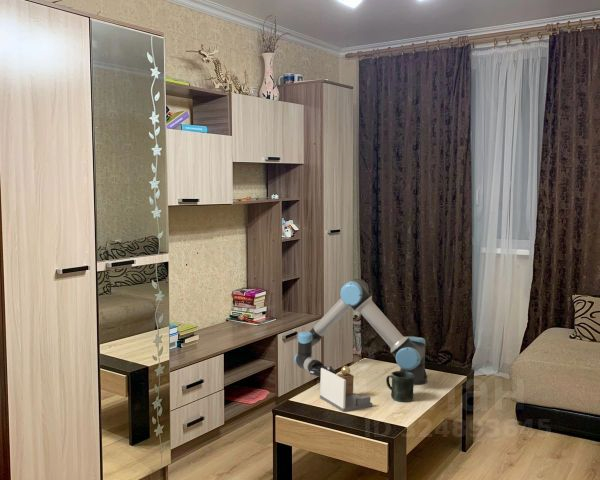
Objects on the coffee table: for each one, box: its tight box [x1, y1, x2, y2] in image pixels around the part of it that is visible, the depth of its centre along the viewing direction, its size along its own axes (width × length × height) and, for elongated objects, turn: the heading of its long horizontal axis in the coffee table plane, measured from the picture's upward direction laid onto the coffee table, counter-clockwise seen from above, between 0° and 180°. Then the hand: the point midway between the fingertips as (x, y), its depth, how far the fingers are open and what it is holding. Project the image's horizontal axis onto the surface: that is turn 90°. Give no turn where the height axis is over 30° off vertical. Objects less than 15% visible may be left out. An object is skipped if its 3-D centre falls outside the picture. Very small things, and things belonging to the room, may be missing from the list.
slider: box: [336, 365, 355, 395], centre depth 293 cm, size 5×6×13 cm
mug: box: [385, 370, 415, 403], centre depth 294 cm, size 11×15×12 cm
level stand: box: [319, 368, 373, 413], centre depth 287 cm, size 20×16×14 cm
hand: (338, 379), depth 299 cm, fingers closed
